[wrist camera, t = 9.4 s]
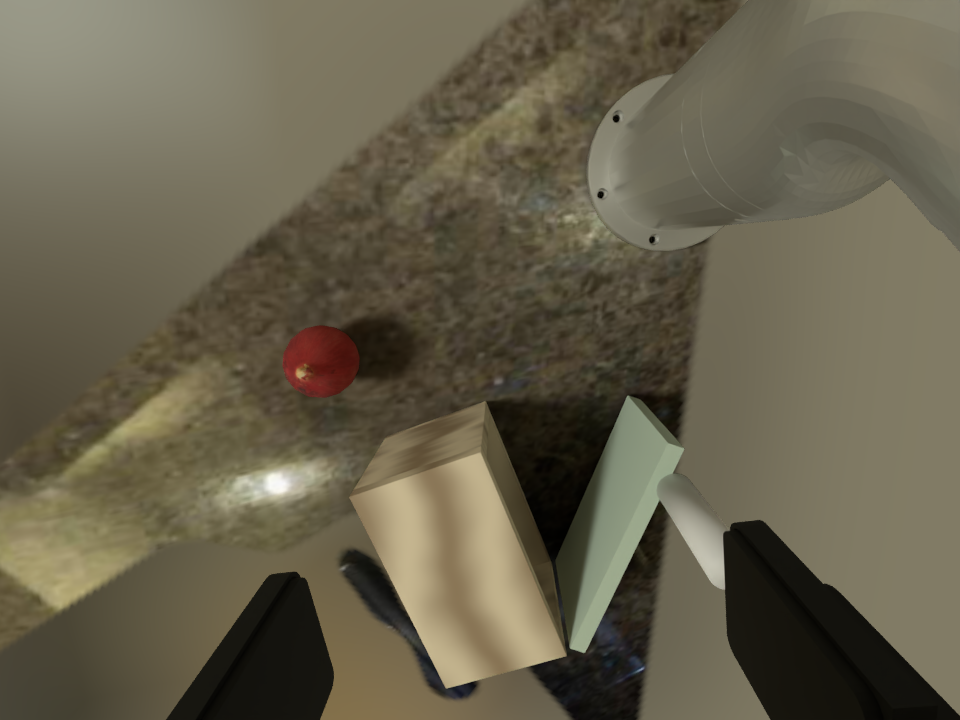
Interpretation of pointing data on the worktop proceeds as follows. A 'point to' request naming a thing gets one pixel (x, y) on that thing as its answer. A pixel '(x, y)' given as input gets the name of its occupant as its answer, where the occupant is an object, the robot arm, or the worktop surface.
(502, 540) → the cupboard
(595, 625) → the cupboard door
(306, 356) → the onion
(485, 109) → the worktop surface
